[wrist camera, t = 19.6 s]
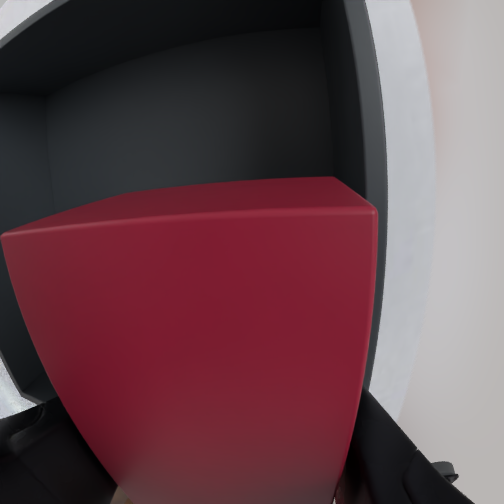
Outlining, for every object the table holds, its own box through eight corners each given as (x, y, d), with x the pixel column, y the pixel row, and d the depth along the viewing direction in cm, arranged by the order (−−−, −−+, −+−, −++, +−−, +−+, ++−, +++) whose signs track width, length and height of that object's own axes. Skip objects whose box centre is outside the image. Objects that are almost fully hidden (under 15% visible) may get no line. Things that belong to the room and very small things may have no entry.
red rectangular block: (320, 463, 9) (314, 554, 5) (192, 453, 10) (160, 532, 6) (335, 176, 6) (380, 206, 2) (126, 192, 7) (-3, 234, 3)
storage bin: (340, 351, 18) (350, 464, 10) (87, 334, 21) (21, 396, 13) (328, 23, 12) (341, -76, 4) (47, 91, 16) (-48, 86, 8)
